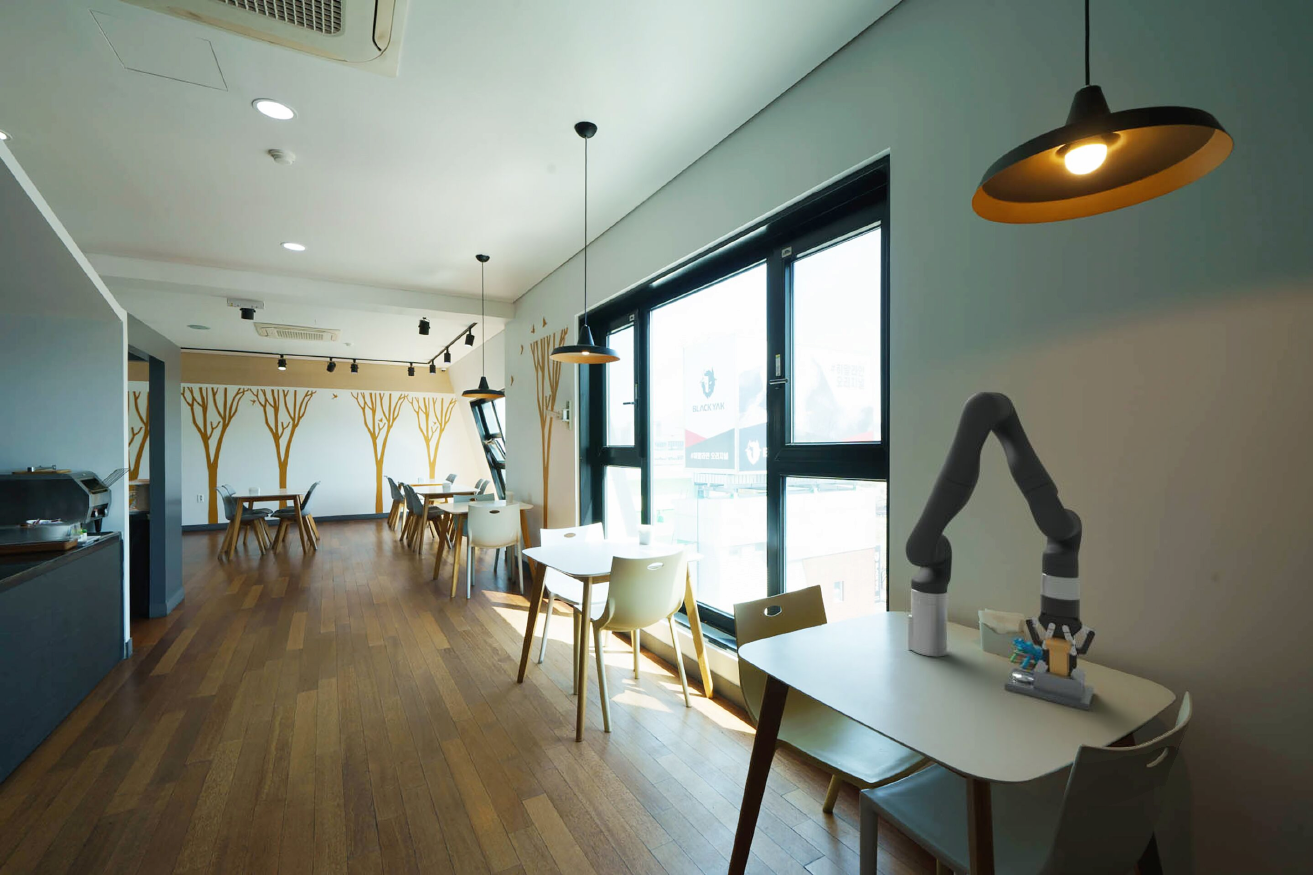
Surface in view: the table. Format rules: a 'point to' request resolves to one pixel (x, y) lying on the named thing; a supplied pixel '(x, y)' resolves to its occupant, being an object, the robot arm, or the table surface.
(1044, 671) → the gray slotted base block
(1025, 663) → the blue jagged figurine
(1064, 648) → the yellow t-shaped post
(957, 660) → the table surface
